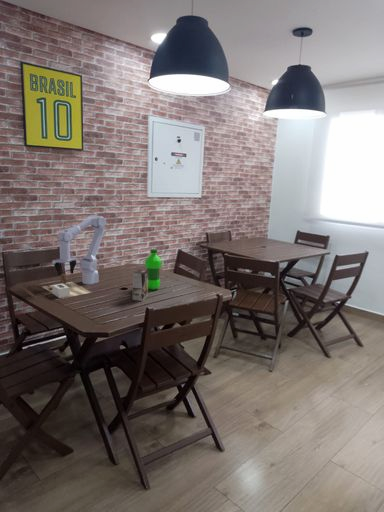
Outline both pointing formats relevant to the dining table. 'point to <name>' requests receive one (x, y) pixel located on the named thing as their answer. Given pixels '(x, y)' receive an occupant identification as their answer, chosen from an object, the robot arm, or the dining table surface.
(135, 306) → the dining table surface
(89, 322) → the dining table surface
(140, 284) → the coffee box
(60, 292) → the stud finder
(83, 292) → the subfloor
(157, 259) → the plastic bottle
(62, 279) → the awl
